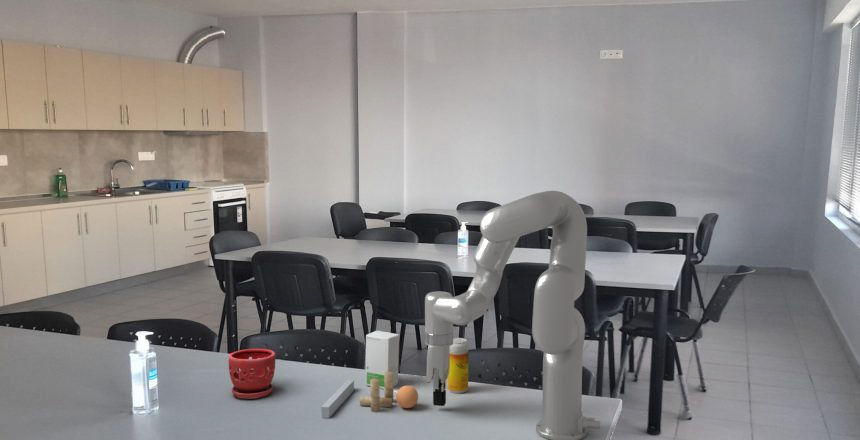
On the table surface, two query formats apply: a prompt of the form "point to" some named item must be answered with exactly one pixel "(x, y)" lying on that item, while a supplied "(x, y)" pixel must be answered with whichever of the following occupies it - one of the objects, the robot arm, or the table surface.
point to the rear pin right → (388, 384)
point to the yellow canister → (458, 366)
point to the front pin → (383, 402)
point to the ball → (407, 396)
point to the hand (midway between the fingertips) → (439, 404)
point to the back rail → (337, 399)
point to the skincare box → (381, 356)
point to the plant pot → (252, 372)
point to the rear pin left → (375, 395)
